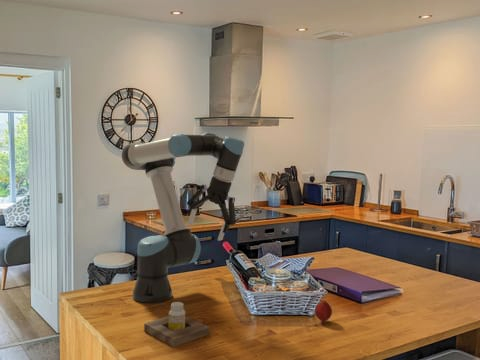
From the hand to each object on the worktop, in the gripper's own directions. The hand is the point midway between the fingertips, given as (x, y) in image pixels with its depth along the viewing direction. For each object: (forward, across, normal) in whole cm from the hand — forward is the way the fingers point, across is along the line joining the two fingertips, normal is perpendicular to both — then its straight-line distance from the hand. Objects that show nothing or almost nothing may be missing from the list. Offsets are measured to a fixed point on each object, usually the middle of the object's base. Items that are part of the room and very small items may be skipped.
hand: (204, 232), depth 178 cm
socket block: (+26, +13, -24) cm, 38 cm away
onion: (+13, +51, +8) cm, 53 cm away
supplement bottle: (+27, +13, -24) cm, 38 cm away
